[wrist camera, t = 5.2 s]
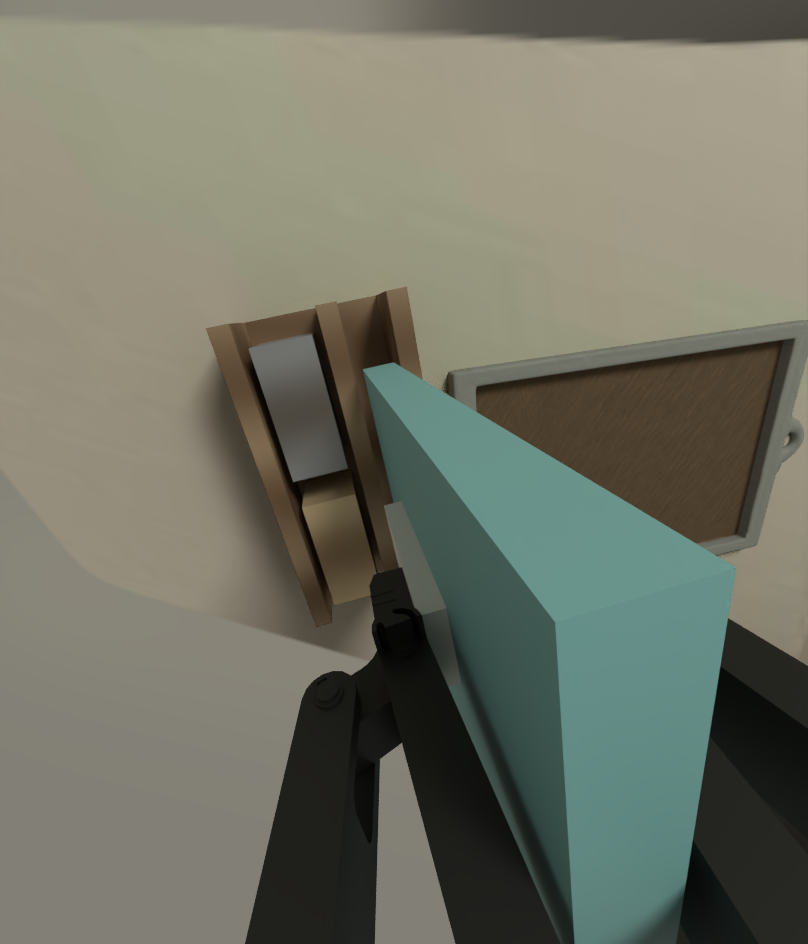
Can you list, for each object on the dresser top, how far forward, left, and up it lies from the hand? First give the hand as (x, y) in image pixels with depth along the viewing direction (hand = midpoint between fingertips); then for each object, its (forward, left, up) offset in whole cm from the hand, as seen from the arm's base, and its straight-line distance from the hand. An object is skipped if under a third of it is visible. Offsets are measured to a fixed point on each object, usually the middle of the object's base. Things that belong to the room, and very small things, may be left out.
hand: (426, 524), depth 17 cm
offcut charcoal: (+5, +4, -10) cm, 12 cm away
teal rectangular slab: (0, 0, -6) cm, 6 cm away
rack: (0, +3, -11) cm, 11 cm away
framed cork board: (-7, -19, -12) cm, 23 cm away
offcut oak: (-4, +4, -10) cm, 12 cm away
